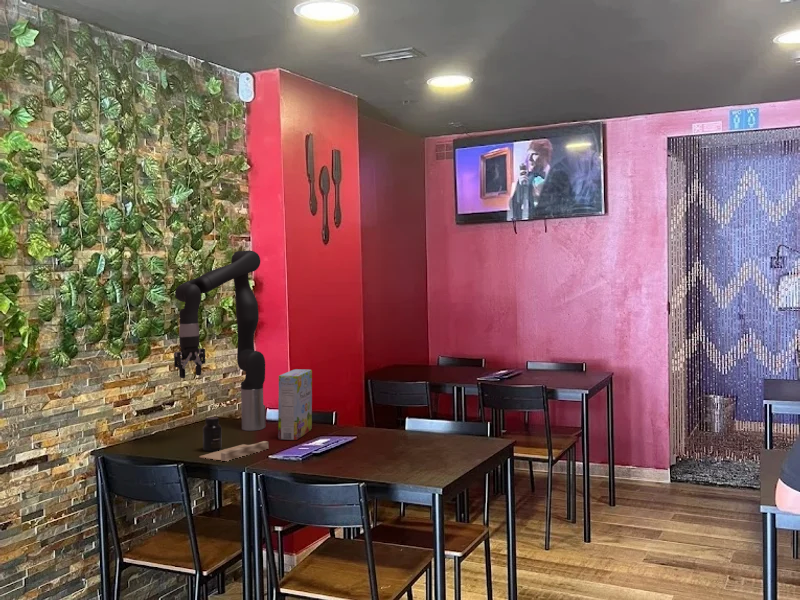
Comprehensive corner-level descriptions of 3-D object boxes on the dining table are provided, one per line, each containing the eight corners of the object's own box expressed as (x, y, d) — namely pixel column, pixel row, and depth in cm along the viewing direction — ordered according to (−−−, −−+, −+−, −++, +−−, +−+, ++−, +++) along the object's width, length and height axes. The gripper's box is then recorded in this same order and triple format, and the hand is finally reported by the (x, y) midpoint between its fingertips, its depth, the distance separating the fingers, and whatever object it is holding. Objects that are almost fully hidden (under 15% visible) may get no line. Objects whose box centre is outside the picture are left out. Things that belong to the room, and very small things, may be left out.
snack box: (298, 441, 303) (297, 375, 302) (277, 440, 305) (276, 375, 304) (313, 429, 325) (312, 368, 324) (293, 429, 326) (292, 368, 325)
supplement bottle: (217, 452, 286) (216, 420, 286) (199, 451, 287) (199, 419, 287) (224, 448, 293) (224, 416, 292) (208, 447, 294) (207, 416, 294)
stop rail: (264, 448, 291) (264, 440, 290) (268, 449, 289) (268, 441, 289) (221, 461, 272) (221, 452, 272) (225, 462, 271) (225, 453, 271)
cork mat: (243, 445, 297) (243, 444, 297) (264, 448, 291) (264, 447, 291) (199, 457, 278) (199, 456, 278) (221, 461, 272) (221, 460, 272)
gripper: (196, 333, 311) (197, 373, 312) (168, 336, 299) (169, 378, 300) (209, 333, 307) (211, 374, 308) (181, 336, 295) (183, 379, 296)
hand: (190, 376), depth 304 cm, fingers open, 7 cm apart
